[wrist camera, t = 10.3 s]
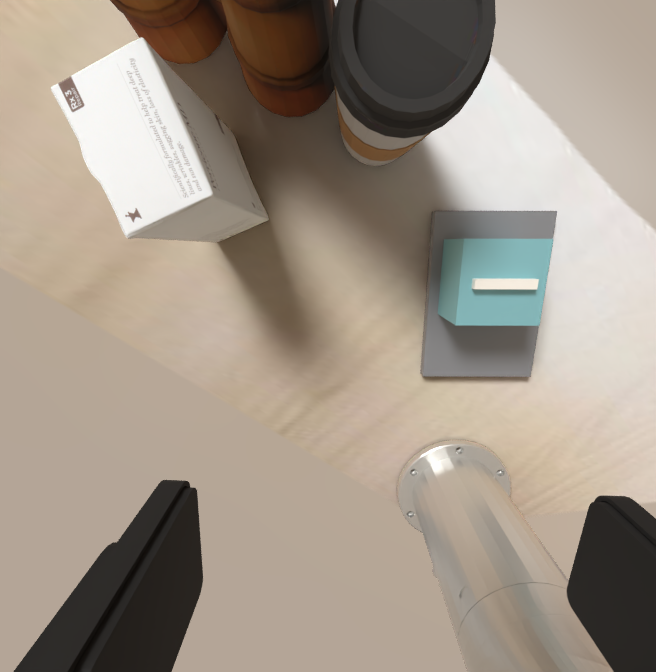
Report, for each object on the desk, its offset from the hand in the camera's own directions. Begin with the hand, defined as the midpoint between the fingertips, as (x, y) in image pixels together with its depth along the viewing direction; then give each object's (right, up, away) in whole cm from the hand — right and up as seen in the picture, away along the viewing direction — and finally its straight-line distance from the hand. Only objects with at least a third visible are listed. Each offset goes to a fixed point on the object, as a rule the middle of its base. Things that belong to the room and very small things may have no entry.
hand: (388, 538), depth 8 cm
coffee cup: (+3, +23, +23) cm, 33 cm away
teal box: (+13, +10, +25) cm, 30 cm away
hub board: (+14, +9, +26) cm, 31 cm away
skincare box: (-11, +18, +24) cm, 32 cm away
